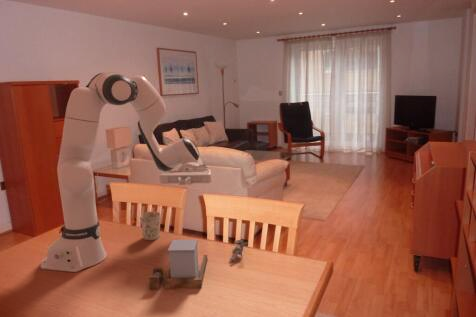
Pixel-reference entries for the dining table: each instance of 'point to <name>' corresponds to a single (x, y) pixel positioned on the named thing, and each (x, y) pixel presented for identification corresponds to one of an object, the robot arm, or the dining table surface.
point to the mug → (150, 225)
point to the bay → (176, 279)
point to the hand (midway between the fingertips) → (182, 182)
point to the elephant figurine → (238, 249)
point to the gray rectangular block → (184, 259)
